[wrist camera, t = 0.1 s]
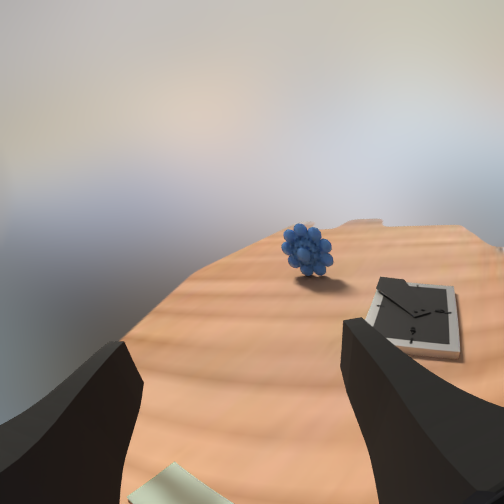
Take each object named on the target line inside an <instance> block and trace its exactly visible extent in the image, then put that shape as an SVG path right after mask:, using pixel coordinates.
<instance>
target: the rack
mask: <svg viewBox="0 0 504 504" xmlns="http://www.w3.org/2000/svg"><path fill="white" fill-rule="evenodd" d="M127 498H128V499H129V500H130V501H131V502H132V503H133V504H234V503H232V502H231V501H229V500H228V499H226V498H224V497H223V496H221V495H220V494H218V493H217V492H215V491H214V490H212V489H211V488H209V487H208V486H207V485H205V484H204V483H202V482H201V481H199V480H198V479H197V478H195V477H194V476H193V475H191V474H190V473H189V472H187V471H186V470H185V469H183V468H182V467H181V466H179V465H178V464H177V463H176V462H173V463H172V464H171V465H169V466H168V467H167V468H166V469H164V470H163V471H162V472H160V473H159V474H158V475H156V476H155V477H154V478H152V479H151V480H150V481H148V482H147V483H145V484H144V485H143V486H141V487H140V488H139V489H137V490H136V491H134V492H133V493H131V494H130V495H128V496H127Z"/></svg>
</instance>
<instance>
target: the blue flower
mask: <svg viewBox="0 0 504 504" xmlns="http://www.w3.org/2000/svg"><path fill="white" fill-rule="evenodd" d="M284 239H285V240H286V241H287V242H284V243H283V244H282V251H283V252H284V253H285V254H286V255H290V256H289V258H288V262H289V264H290V266H292V267H293V268H298V267H300V270H301V272H302V273H303V274H304V275H306V276H310V275H312V274H313V272H315V273H316V274H317V275H320V276H322V275H324V274H325V273H326V267H325V266H327V267H329V266H331V265H332V264H333V257H332V256H331V255H330V254H329V253H328V252H330V251H331V249H332V247H331V243H330V242H329V241H328V240H326V239H321V232H320V231H319V230H318V229H317V228H315V227H311V228H309V229H308V231H307V228H306V227H305V226H304V225H303V224H299V223H298V224H296V225H295V226H294V231H293V230H289V229H288V230H286V231H285V232H284ZM320 239H321V240H320Z"/></svg>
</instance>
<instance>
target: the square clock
mask: <svg viewBox="0 0 504 504" xmlns="http://www.w3.org/2000/svg"><path fill="white" fill-rule="evenodd" d="M376 289H377V290H376V293H375V296H374V299H373V301H372V304H371V306H370V309H369V312H368V314H367V317H366V319H365V321H367V322H368V323H369V324H370V325H371V326H372V327H374V328H375V329H376V330H377V331H378V332H380V333H381V334H382V335H383V336H384V337H385V338H387V339H388V340H389V341H390V342H391V343H393V344H394V345H395V346H396V347H398V348H399V349H400V350H401V351H403V352H404V353H405V354H408V355H417V356H426V357H436V358H447V359H458V357H459V354H460V340H459V327H458V317H457V308H456V300H455V292H454V286H442V285H430V284H418V283H407V282H406V281H405V280H403V279H395V278H387V277H380V279H379V282H378V285H377V287H376Z"/></svg>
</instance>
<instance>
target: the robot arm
mask: <svg viewBox="0 0 504 504" xmlns="http://www.w3.org/2000/svg"><path fill="white" fill-rule="evenodd" d="M340 367H341V371H342V375H343V380H344V384H345V388H346V392H347V394H348V397H349V400H350V403H351V405H352V408H353V410H354V413H355V416H356V418H357V421H358V424H359V426H360V429H361V432H362V434H363V437H364V440H365V443H366V445H367V449H368V452H369V455H370V459H371V464H372V468H373V473H374V477H375V483H376V488H377V494H378V499H379V504H504V407H501V406H498V405H495V404H493V403H490V402H487V401H485V400H483V399H480V398H478V397H476V396H474V395H471V394H469V393H467V392H465V391H463V390H461V389H459V388H457V387H456V386H454V385H452V384H450V383H449V382H447V381H445V380H443V379H442V378H440V377H438V376H437V375H435V374H433V373H432V372H430V371H429V370H428V369H426V368H425V367H423V366H422V365H420V364H419V363H417V362H416V361H415V360H413V359H412V358H411V357H409V356H408V355H407V354H405V353H404V352H403V351H401V350H400V349H399V348H398V347H396V346H395V345H394V344H393V343H391V342H390V341H389V340H388V339H387V338H385V337H384V336H383V335H382V334H381V333H380V332H378V331H377V330H376V329H375V328H374V327H372V326H371V325H370V324H369V323H368V322H367V321H365V320H364V319H363V318H362V317H360V318H355V319H349V320H343V335H342V351H341V364H340ZM143 385H144V382H143V380H142V378H141V376H140V374H139V372H138V370H137V368H136V366H135V364H134V362H133V360H132V358H131V355H130V353H129V351H128V349H127V347H126V344H125V342H124V341H120V342H108V343H107V344H106V345H104V346H103V347H102V348H101V349H100V350H98V351H97V352H96V353H95V354H94V355H93V356H91V357H90V358H89V359H88V360H87V361H86V362H85V363H84V364H83V365H81V366H80V367H79V368H78V369H77V370H76V371H75V372H74V373H73V374H71V375H70V376H69V377H68V378H67V379H66V380H64V381H63V382H62V383H61V384H60V385H58V386H57V387H56V388H55V389H54V390H53V391H51V392H50V393H49V394H48V395H47V396H45V397H44V398H43V399H42V400H40V401H39V402H37V403H36V404H34V405H33V406H32V407H30V408H29V409H27V410H26V411H24V412H23V413H21V414H19V415H18V416H16V417H14V418H12V419H11V420H9V421H7V422H5V423H4V424H2V425H0V504H119V502H120V488H121V480H122V472H123V466H124V462H125V457H126V454H127V450H128V447H129V443H130V440H131V436H132V433H133V430H134V426H135V423H136V420H137V416H138V413H139V409H140V405H141V399H142V392H143Z"/></svg>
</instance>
